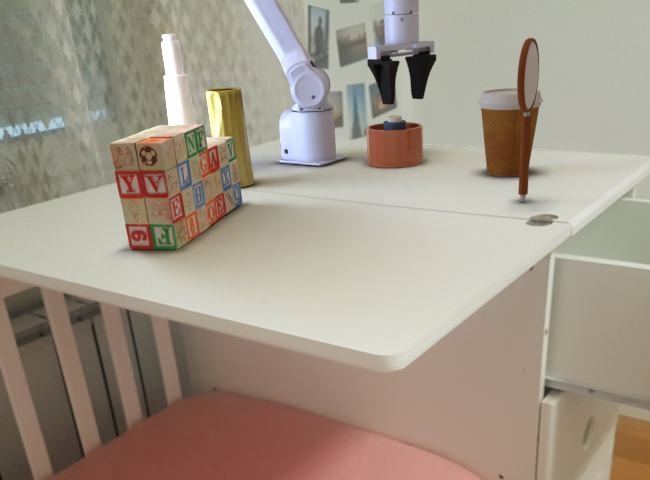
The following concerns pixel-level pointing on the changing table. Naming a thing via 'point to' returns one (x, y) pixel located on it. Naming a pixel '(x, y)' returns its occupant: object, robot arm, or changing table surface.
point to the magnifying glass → (526, 105)
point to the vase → (231, 126)
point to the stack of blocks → (174, 183)
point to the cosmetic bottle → (176, 84)
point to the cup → (394, 146)
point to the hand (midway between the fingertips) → (403, 101)
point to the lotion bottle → (394, 123)
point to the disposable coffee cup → (504, 129)
